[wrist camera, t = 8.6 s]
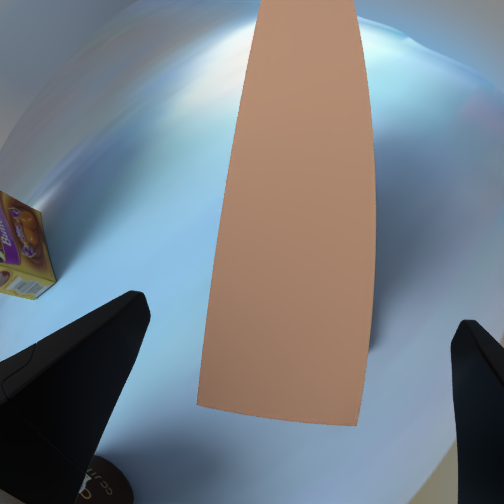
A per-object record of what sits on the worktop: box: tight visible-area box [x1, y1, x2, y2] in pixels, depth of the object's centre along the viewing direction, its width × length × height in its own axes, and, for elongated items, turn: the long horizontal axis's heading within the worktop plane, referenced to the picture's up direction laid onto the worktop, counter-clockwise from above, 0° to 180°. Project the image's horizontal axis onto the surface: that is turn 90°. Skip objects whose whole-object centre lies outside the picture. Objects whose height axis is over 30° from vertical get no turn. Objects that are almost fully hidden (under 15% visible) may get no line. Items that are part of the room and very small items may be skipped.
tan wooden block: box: [197, 0, 376, 426], centre depth 8 cm, size 12×2×6 cm, turn 173°
